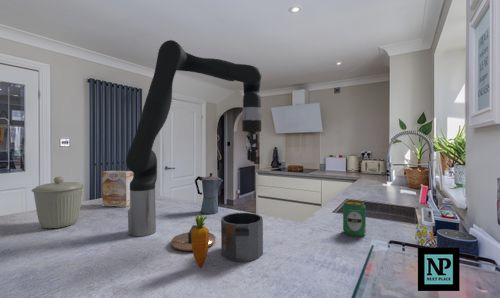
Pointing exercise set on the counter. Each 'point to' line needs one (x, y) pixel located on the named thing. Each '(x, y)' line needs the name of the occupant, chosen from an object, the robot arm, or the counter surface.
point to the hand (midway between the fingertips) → (251, 160)
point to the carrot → (200, 241)
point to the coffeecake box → (116, 188)
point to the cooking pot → (242, 237)
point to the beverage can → (354, 218)
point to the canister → (58, 203)
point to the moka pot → (209, 193)
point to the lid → (188, 241)
